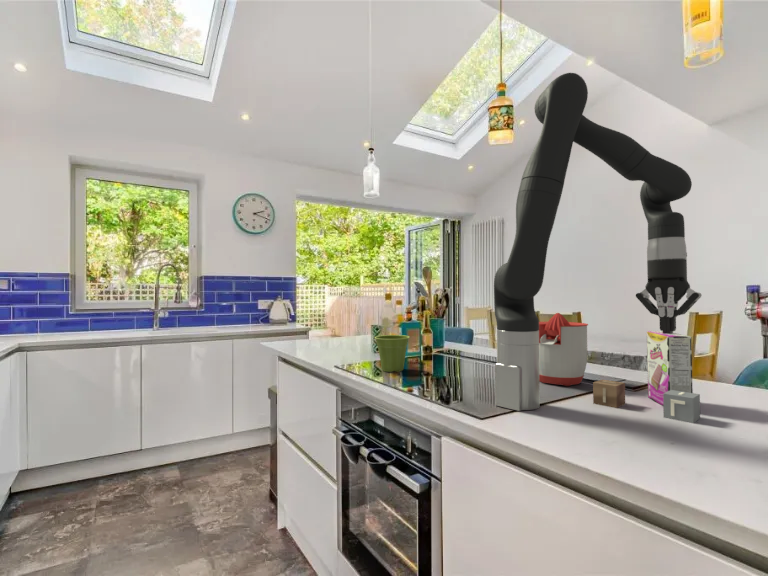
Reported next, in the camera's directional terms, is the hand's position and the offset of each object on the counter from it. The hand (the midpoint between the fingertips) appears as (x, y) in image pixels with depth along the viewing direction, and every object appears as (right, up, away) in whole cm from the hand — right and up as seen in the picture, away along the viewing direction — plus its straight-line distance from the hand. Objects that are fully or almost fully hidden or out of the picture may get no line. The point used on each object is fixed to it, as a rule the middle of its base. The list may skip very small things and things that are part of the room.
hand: (668, 333), depth 94 cm
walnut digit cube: (-13, -17, 0) cm, 21 cm away
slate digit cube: (-4, -16, -10) cm, 20 cm away
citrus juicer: (-16, -17, +23) cm, 33 cm away
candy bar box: (0, -17, 0) cm, 17 cm away
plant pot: (-63, -17, +42) cm, 78 cm away
